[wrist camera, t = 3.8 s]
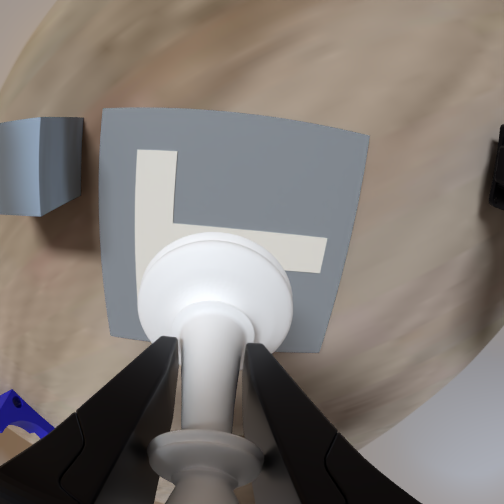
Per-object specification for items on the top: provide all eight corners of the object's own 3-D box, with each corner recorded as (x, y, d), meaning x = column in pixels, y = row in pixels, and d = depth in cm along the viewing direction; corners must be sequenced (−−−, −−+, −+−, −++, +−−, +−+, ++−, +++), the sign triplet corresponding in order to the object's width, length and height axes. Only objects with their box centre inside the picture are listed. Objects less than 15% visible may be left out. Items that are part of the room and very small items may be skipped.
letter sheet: (367, 135, 17) (370, 135, 16) (318, 350, 23) (319, 353, 22) (104, 108, 15) (102, 108, 15) (111, 333, 21) (110, 336, 21)
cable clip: (0, 394, 25) (-19, 426, 19) (12, 388, 24) (-8, 423, 19) (66, 451, 29) (54, 484, 23) (83, 448, 28) (72, 484, 23)
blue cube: (84, 117, 15) (40, 117, 11) (81, 195, 17) (40, 216, 13) (25, 123, 15) (-22, 127, 10) (25, 193, 17) (-19, 213, 12)
